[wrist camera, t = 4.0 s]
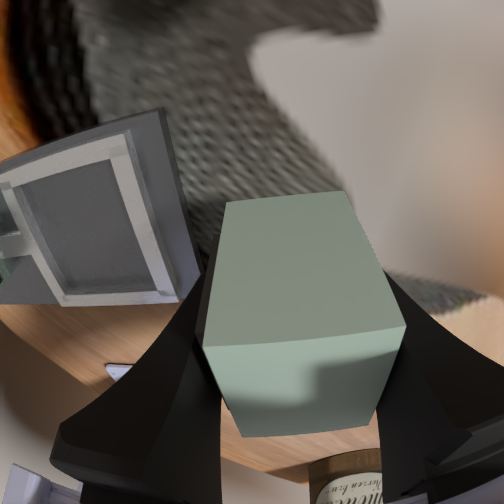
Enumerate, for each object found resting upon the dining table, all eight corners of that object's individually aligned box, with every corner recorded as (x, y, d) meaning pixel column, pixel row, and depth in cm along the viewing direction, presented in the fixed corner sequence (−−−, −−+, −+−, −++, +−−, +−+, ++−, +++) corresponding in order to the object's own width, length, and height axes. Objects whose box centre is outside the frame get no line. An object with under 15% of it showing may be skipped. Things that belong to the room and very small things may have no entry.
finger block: (343, 190, 10) (406, 325, 6) (339, 297, 13) (368, 425, 8) (215, 203, 11) (182, 347, 6) (238, 306, 14) (230, 437, 9)
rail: (163, 106, 13) (96, 156, 8) (209, 286, 20) (193, 383, 14) (-55, 190, 15) (-110, 241, 9) (1, 296, 22) (-35, 355, 16)
